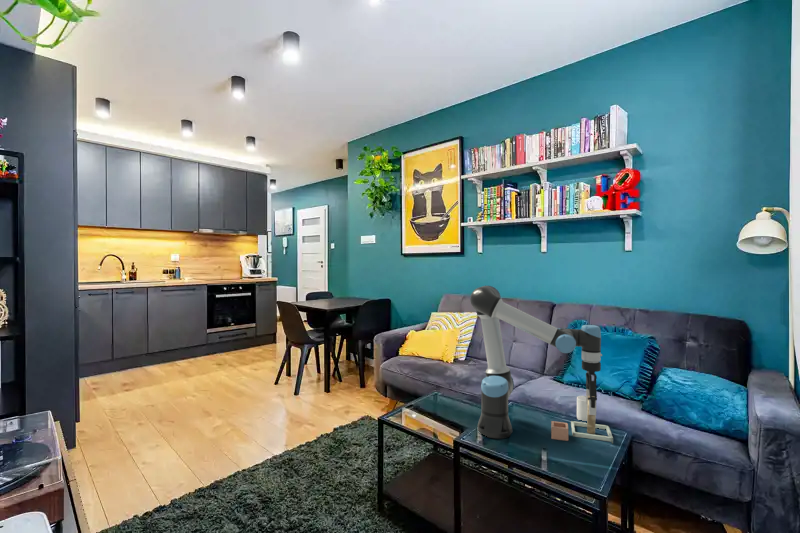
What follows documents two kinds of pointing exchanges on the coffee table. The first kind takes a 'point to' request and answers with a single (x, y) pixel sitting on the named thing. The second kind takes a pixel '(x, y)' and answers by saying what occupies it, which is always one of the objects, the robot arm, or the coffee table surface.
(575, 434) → the tray
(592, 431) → the pin
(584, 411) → the cup
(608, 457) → the coffee table surface
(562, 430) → the holder
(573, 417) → the coffee table surface
